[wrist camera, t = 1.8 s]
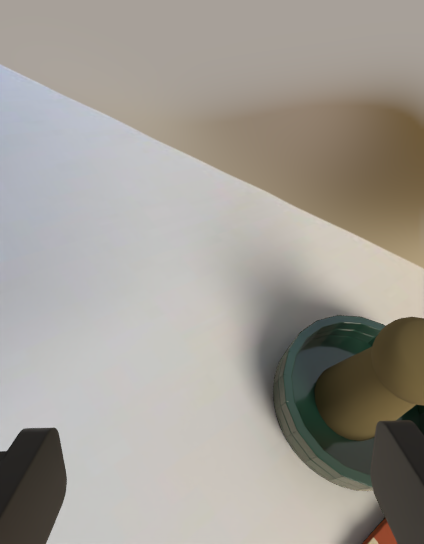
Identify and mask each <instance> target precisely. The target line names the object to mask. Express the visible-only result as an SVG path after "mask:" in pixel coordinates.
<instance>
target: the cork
mask: <svg viewBox="0 0 424 544" xmlns="http://www.w3.org/2000/svg"><path fill="white" fill-rule="evenodd" d="M315 402H316V405H317V408H318V411H319V414H320V415H321V417H322V418H323V420H324V421H325V423H326V424H327V425H328V426H329V427H330V428H331V429H332V430H333V431H334V432H336V433H337V434H338V435H341V436H343V437H345V438H347V439H349V440H356V441H364V440H368V439H372V438H373V437H375V431H376V425H377V423H378V422H379V421H396V420H397V419H398V418H400V417H401V416H402V415H404V414H405V413H406V412H407V411H409V410H410V409H411V408H413V407H414V406H415V405H424V319H423V318H417V317H408V318H401V319H398V320H395V321H393V322H392V323H390V324H388V325H386V326H385V327H384V328H383V329H382V330H381V331H380V332H379V334H378V335H377V337H376V338H375V340H374V342H373V346H372V347H370V348H368V349H366V350H364V351H362V352H360V353H358V354H356V355H354V356H351V357H349V358H347V359H345V360H343V361H341V362H339V363H337V364H335V365H333V366H331V367H329V368H328V369H326V370H324V371H323V372H322V374H321V375H320V376H319V378H318V379H317V383H316V386H315Z"/></svg>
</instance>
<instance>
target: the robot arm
mask: <svg viewBox="0 0 424 544" xmlns="http://www.w3.org/2000/svg"><path fill="white" fill-rule="evenodd" d="M371 482H372V487H373V491H374V494H375V496H376V499H377V501H378V503H379V505H380V507H381V510H382V512H383V514H384V516H385V518H386V520H387V522H388V525H389V527H390V529H391V531H392V533H393V535H394V537H395V539H396V542H397V544H424V435H423V434H422V432H421V431H420V430H419V428H418V427H417V426H416V424H415V423H414V422H413V421H411V420H398V421H379V422H378V423H377V425H376V431H375V438H374V446H373V454H372V462H371ZM66 484H67V477H66V470H65V465H64V460H63V454H62V449H61V443H60V438H59V433H58V431H57V429H56V428H26V429H23V430H22V431H21V432H20V433H19V434H18V436H17V437H16V439H15V440H14V442H13V443H12V445H11V446H10V448H9V449H8V451H4V452H0V544H46V542H47V540H48V537H49V535H50V533H51V530H52V528H53V525H54V523H55V521H56V518H57V516H58V513H59V511H60V508H61V506H62V503H63V500H64V497H65V492H66Z"/></svg>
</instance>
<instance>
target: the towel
mask: <svg viewBox="0 0 424 544" xmlns="http://www.w3.org/2000/svg"><path fill="white" fill-rule="evenodd" d="M362 544H397V542H396V539H395V537H394V535H393V533H392V531H391V529H390V527H389V525H388V522H387V520H386V518H384V520H383V521H382V522H381V523H380V524H379V525H378V526H377V527H376V529H375V530H374V531H373V532H372V533H371V534H370V535H369V536H368V538H367V539H366V540H365V541H364V542H363V543H362Z"/></svg>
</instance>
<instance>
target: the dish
mask: <svg viewBox="0 0 424 544" xmlns="http://www.w3.org/2000/svg"><path fill="white" fill-rule="evenodd" d="M384 327H385V325H383V324H380V323H378V322H375V321H372V320H369V319H366V318H363V317H357V316H342V315H337V316H333V317H329V318H325V319H321V320H318V321H316V322H314V323H313V324H311V325H310V326H309V327H307V328H306V329H304V330H303V331H301V332H300V333H299V335H298V336H297V337H296V338H295V340H294V341H293V342H292V343H291V345H290V346H289V348H288V349H287V351H286V352H285V354H284V355H283V357H282V358H281V360H280V362H279V364H278V367H277V370H276V374H275V377H274V385H273V399H274V407H275V411H276V415H277V419H278V422H279V424H280V427H281V430H282V432H283V434H284V436H285V437H286V439H287V441H288V443H289V444H290V446H291V447H292V449H293V450H294V451H295V453H296V454H297V455H298V456H299V457H300V459H301V460H302V461H303V462H304V463H305V464H306V465H307V466H308V467H309V468H311V469H312V470H313V471H314V472H316V473H317V474H318V475H320V476H321V477H323V478H325V479H326V480H328V481H330V482H332V483H334V484H336V485H339V486H341V487H345V488H348V489H352V490H356V491H373V487H372V482H371V462H372V454H373V446H374V438H375V437H373V438H372V439H368V440H364V441H356V440H349V439H347V438H345V437H343V436H341V435H338V434H337V433H336V432H334V431H333V430H332V429H331V428H330V427H329V426H328V425H327V424H326V423H325V421H324V420H323V418H322V417H321V415H320V414H319V411H318V408H317V405H316V402H315V386H316V383H317V379H318V378H319V376H320V375H321V374H322V372H323V371H324V370H326V369H328V368H329V367H331V366H333V365H335V364H337V363H339V362H341V361H343V360H345V359H347V358H349V357H351V356H354V355H356V354H358V353H360V352H362V351H364V350H366V349H368V348H370V347H372V346H373V342H374V340H375V338H376V337H377V335H378V334H379V332H380V331H381V330H382V329H383V328H384ZM398 420H411V421H413V422H414V423H415V424H416V426H417V427H418V428H419V430H420V431H421V432H422V434H423V435H424V405H415V406H414V407H413V408H411V409H410V410H409V411H407V412H406V413H405V414H404V415H402V416H401V417H400V418H398V419H397V420H396V421H398Z"/></svg>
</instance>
